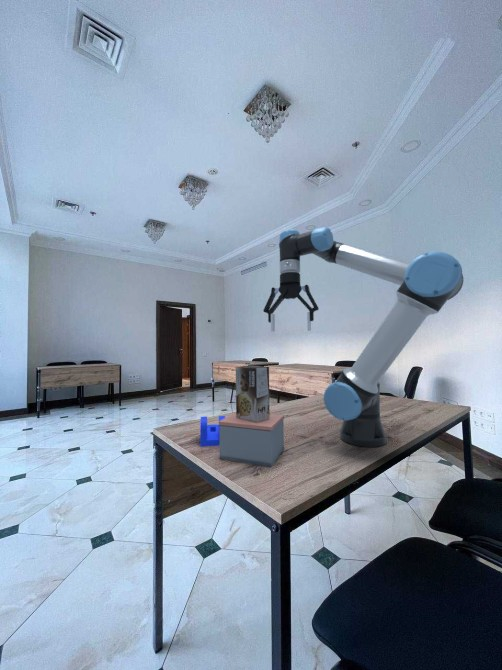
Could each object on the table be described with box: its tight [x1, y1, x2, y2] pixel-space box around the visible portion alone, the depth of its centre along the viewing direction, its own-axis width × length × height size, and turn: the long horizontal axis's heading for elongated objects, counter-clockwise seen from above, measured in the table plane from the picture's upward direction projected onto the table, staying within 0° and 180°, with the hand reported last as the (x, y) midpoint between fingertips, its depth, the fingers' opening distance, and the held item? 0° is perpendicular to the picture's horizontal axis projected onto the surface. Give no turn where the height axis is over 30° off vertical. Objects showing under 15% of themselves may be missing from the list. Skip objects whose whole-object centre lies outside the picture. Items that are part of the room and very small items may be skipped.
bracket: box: [199, 415, 226, 447], centre depth 102 cm, size 18×8×9 cm, turn 8°
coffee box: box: [235, 365, 271, 422], centre depth 87 cm, size 9×6×16 cm
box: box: [219, 419, 285, 468], centre depth 86 cm, size 16×14×10 cm
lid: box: [218, 412, 285, 431], centre depth 86 cm, size 16×14×1 cm
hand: (290, 331), depth 102 cm, fingers open, 13 cm apart
